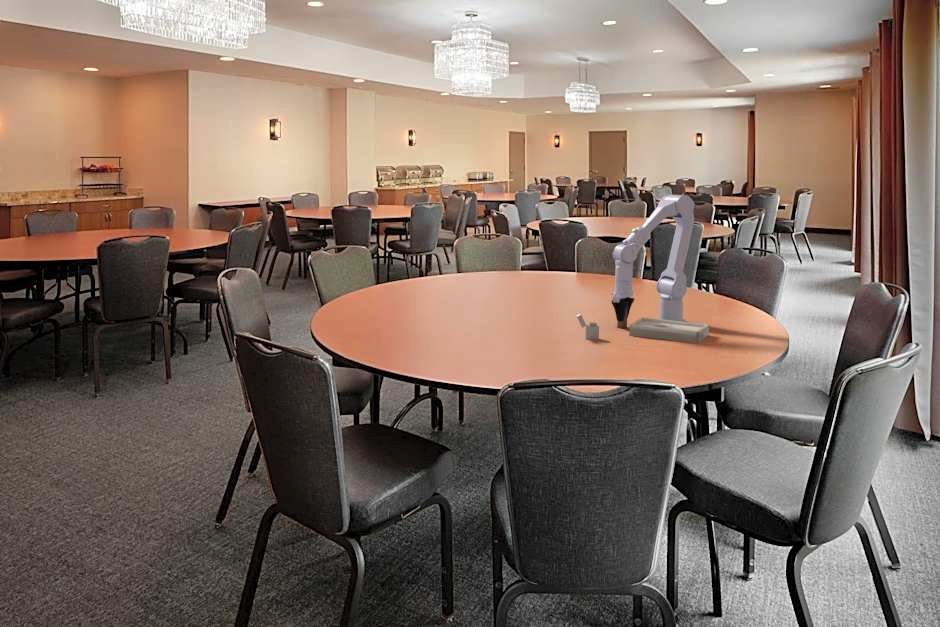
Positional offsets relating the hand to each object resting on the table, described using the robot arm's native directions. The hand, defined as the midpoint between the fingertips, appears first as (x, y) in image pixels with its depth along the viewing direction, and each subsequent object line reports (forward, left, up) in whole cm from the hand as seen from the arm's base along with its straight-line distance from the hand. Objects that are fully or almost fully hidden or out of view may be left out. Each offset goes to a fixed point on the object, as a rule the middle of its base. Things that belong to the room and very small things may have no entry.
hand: (622, 320), depth 244 cm
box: (+4, +17, -2) cm, 18 cm away
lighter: (+21, -4, -3) cm, 22 cm away
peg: (0, 0, -2) cm, 2 cm away
